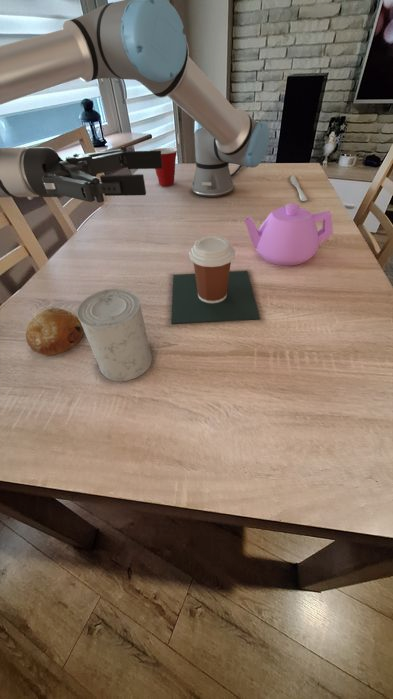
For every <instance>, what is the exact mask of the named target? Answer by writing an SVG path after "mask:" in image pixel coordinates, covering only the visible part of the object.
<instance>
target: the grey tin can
mask: <svg viewBox="0 0 393 699" xmlns="http://www.w3.org/2000/svg"><path fill="white" fill-rule="evenodd" d="M140 299H141V298H139V296H138V295H137V294H136V293H135V292H133V291H131V290H128V289H125V288H107V289H103V290H99V291H96V292H95V293H92V294H91V295H89V296H87V297H85V298H84V299H83V300H82V301H81V302H80V304H79V305H78V307H77V308H76V316H77V317H78V319H79V321H80V322H81V325H82V327H83V329H84V330H83V333H84V335H85V336H86V340H87V341H88V344H89V346H90V348H91V350H92V353H93V355H94V358H95V360H96V363H97V364H98V368H99V371H100V372H101V374H102V376H104V377H105V378H106V379H108V380H111V381H113V382H126V381H131V380H134V379H137V378H138V377H140V376H141V375H143V374H145V372H147V370H148V369H149V368H150V366H151V364H152V361H153V353H152V351H151V347H150V342H149V338H148V333H147V329H146V325H145V321H144V316H143V311H142V306H141V300H140Z"/></svg>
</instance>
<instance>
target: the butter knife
mask: <svg viewBox="0 0 393 699" xmlns="http://www.w3.org/2000/svg"><path fill="white" fill-rule="evenodd" d="M289 182H290V183H291V184H292V185H293V186H294V187H295V188H296V189H297V192H298V197H299V200H300V201H302V202H307V201H308V197H307V195H306V193H305V192H304V191H303V189H302V188H301V186H300V184H299V182H298V179H297V178H296V175H291V176H290V180H289Z"/></svg>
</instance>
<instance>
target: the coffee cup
mask: <svg viewBox="0 0 393 699" xmlns="http://www.w3.org/2000/svg"><path fill="white" fill-rule="evenodd" d="M188 253H189V254H188V256H189V259H190V261H191V262H192V263H193V269H194V274H195V277H196V283H197V290H198V297H199V299H201V300H202V301H204V302H206V303H218V302H221V301H223V300H224V299H225V298H226V296H227V288H228V280H229V273H230V272H231V266H232V265H231V264H232V261H233V260H234V259H235V255H236V250H235V248H234V247H233V245H231V243H230V240H229V239H227V238H225V237H224V236H221V235H220V236H219V235H205V236H203V237H199V238H198V239H196V240H195V241H194V244H193V246H192V247H191V248H190V250H189V252H188Z"/></svg>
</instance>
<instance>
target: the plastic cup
mask: <svg viewBox="0 0 393 699" xmlns="http://www.w3.org/2000/svg"><path fill="white" fill-rule="evenodd" d="M160 150H161V157H162V166H163V168H162V169H154V170H155V174H156V177H157V180H158V184H159V186H161V187H171V186H173V185H174V184H175V183H174V182H175V175H176V160H177V153H178V148H176V147H160V148H152V149H149V151H160Z"/></svg>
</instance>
